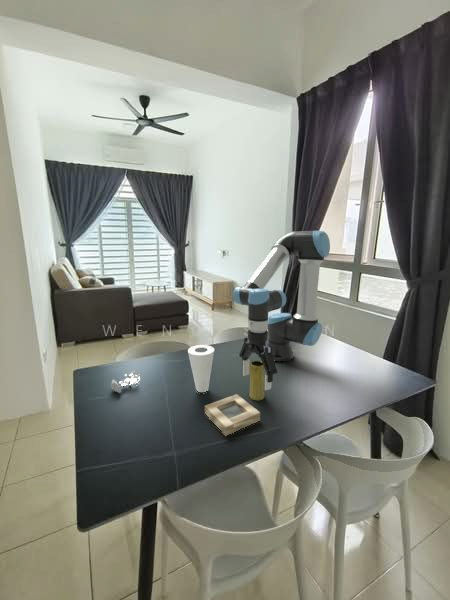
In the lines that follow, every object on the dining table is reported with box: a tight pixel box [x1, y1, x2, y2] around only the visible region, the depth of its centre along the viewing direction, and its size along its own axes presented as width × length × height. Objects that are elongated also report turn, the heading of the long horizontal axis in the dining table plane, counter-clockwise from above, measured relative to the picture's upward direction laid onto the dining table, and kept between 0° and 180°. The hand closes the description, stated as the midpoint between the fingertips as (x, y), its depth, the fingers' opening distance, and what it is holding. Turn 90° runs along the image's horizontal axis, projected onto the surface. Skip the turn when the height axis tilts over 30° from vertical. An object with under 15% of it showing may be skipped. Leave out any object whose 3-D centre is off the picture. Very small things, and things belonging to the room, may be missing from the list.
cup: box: [187, 344, 215, 393], centre depth 116 cm, size 11×11×18 cm
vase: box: [248, 360, 265, 401], centre depth 112 cm, size 6×6×14 cm
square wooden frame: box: [204, 393, 261, 437], centre depth 100 cm, size 14×14×4 cm
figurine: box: [110, 370, 141, 393], centre depth 120 cm, size 9×6×12 cm
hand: (256, 381), depth 112 cm, fingers open, 13 cm apart
